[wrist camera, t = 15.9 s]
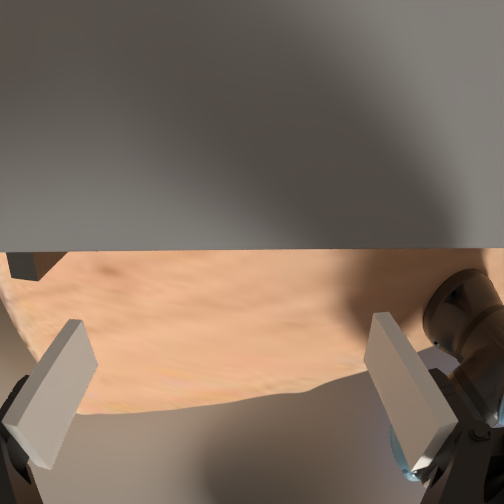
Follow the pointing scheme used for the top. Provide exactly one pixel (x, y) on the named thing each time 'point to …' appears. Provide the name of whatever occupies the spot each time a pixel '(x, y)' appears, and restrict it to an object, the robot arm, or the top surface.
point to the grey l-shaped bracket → (32, 264)
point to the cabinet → (251, 124)
